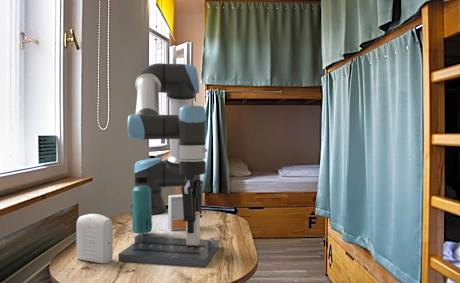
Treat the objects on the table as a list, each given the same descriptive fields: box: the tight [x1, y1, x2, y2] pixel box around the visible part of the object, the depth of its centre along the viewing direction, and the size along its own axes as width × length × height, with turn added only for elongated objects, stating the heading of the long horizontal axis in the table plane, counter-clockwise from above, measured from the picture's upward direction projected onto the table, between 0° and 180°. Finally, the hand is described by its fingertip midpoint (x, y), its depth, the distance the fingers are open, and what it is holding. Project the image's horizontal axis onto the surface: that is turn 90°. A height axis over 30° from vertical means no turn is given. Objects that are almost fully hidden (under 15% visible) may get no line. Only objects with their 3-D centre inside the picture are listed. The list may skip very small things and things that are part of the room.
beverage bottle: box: [131, 176, 153, 235], centre depth 114 cm, size 6×7×20 cm
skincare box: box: [167, 193, 186, 232], centre depth 122 cm, size 6×4×12 cm
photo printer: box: [75, 213, 114, 264], centre depth 92 cm, size 10×4×12 cm, turn 69°
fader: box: [185, 212, 201, 246], centre depth 97 cm, size 2×4×9 cm, turn 80°
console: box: [117, 234, 220, 268], centre depth 96 cm, size 16×24×4 cm, turn 79°
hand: (193, 242), depth 97 cm, fingers closed on fader, 2 cm apart
